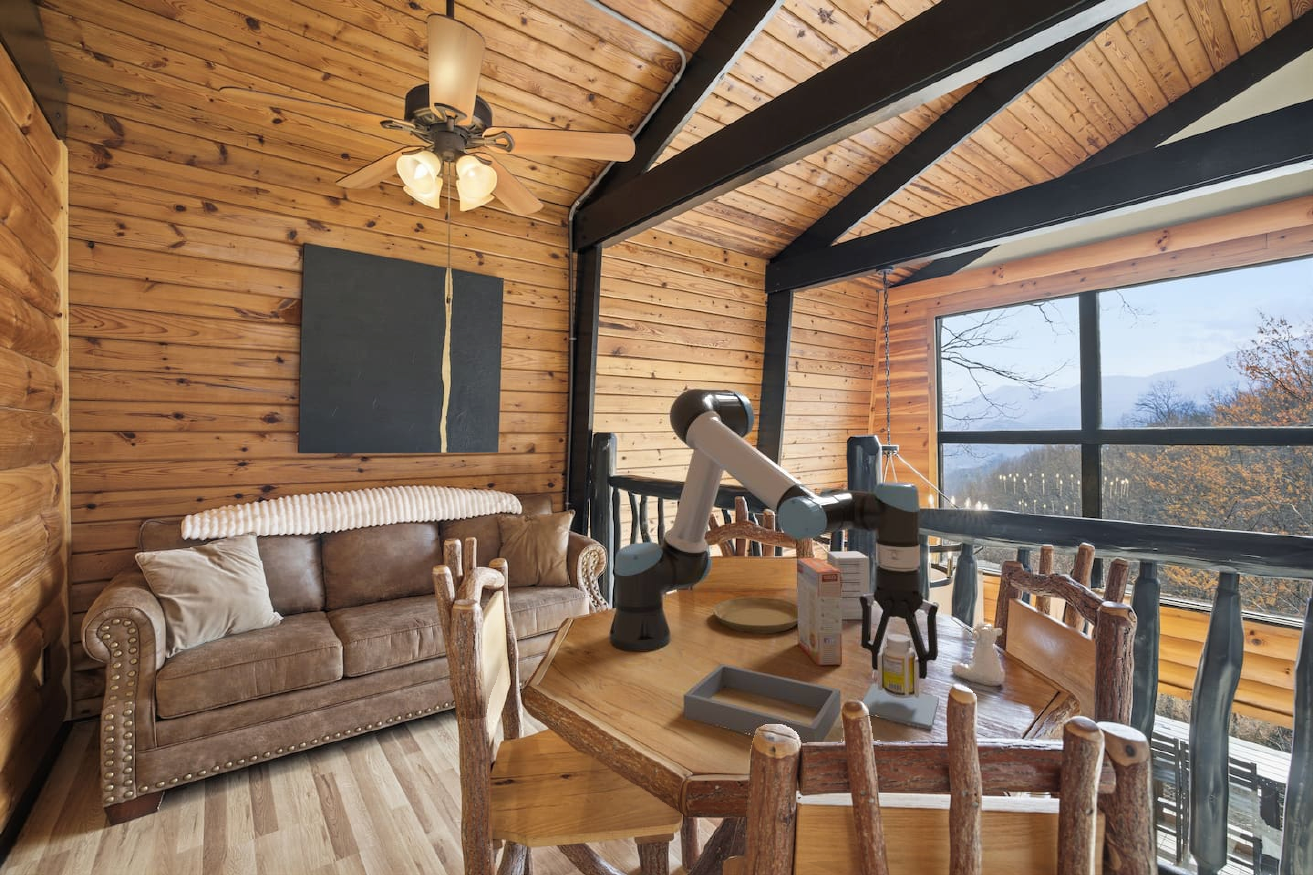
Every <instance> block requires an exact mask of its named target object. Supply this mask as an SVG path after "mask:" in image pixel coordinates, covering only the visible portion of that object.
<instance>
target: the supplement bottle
mask: <svg viewBox="0 0 1313 875" xmlns="http://www.w3.org/2000/svg"><path fill="white" fill-rule="evenodd" d="M882 651H883V687H884V690H885V692H886V693H888V694H889V695H891V696H894V697H898V698H910V697H913V696H914V660H915V658H916V650H914V649H913V648H912V647H911V639H910V637H908V636H907V635H903V634H894V633H893V634H892V633H891V634H888V635H887V637H886V644H885V645H884V646H883V647H882Z"/></svg>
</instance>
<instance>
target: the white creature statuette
mask: <svg viewBox="0 0 1313 875" xmlns="http://www.w3.org/2000/svg"><path fill="white" fill-rule="evenodd" d="M1002 634H1003V629H1002V628H1000V627H996V628H995V627H994V626H993V625H992V624H991V623H988V622H978V623H977V624H976V626H975V628H973V629H972V633H971V636H970V638H971V639H972V640H973V641H974V643H975V644H974V647H973V649H972V652H971V655H972V658H971V662H970V665H969V664H967V663H962V662H959V663H954V664H952V666H951V673H952V674H954V676H957V677H958V678H963V679H965V680H967V681H971V682H973V683H977V684H979V685H981V686H982V685H983V686H987V687H997V686H1000V685H1001V684H1003V683H1004V681H1005V677H1006V676H1005V675H1006V674H1005V673H1006V672H1005V670H1004V668H1003V666H1002V665H1003V664H1002V663H1001V661H1000V655H999V651H998V650H997V648H996V647H995V646H994V644H995V643H996V641H997V638H998V637H999V636H1001V635H1002Z"/></svg>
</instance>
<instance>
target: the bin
mask: <svg viewBox="0 0 1313 875" xmlns="http://www.w3.org/2000/svg"><path fill="white" fill-rule="evenodd" d="M724 687H727V688H730V689H735V690H739V691H743V692H746V693H750V694H755V695H760V696H763V697H766V698H767V697H768V698H771V699H776V700H781V701H785V702H789V703H793V704H796V705H800V706H806V707H810V708H814V709H817V710H819V711H818V713H817V715H816V716H815V717H814V719H813V720H812V722H811V724H809V723H805V722H801V721H798V720H795V719H794V720H793V719H789V718H786V717H782V716H778V715H774V714H770V713H765V712H763V711H759V710H755V709H751V708H747V707H744V706H743V707H742V706H739V705H735V704H731V703H727V702H723V701H720V700H715V699H712V698H713V697H715V695H716V694H717V693H718V692H719V691H721V689H723V688H724ZM841 701H842V700H841V689H838V688H835V687H834V688H833V687H828V686H825V685H819V684H817V683H816V684H815V683H810V682H806V681H801V680H797V679H792V678H789V677H783V676H779V675H775V674H770V673H765V672H760V671H756V670H751V669H747V668H742V667H738V666H733V665H728V664H724V663H720V665H718V666H717V667H716V668H714V669H713V670H712V671H711V672H710V673H708V674H707V675H706V676H705V677H704V678H702V679H701V680H700V681H699V682H698V683H696V684H695V685H694V686H693V687H691V688H690V689H688V691H687V692H685V693H683V718H686V719H689V720H693V721H697V722H701V723H705V724H707V723H708V724H709V725H711V724H714V725H713V726H715V725H718V726H722V727H726V728H729V729H731V730H730V731H732V730H734V731H733V732H736V731H738V732H737V733H739V732H743V733H747V734H749V733H750V735H752V736H751V737H753V736H754V735H755V731H756V729H757V728H759V727H761V726H763V725H765V724H783V725H786V726H787V727H790V728H792V729H793V730H794V731H796V732H797V734H798V735H799V737H800V740H801V742H802V743H807V742H822V743H823V742H824V740H825V739H826V737H827V735H828V733H829V732H830V730H831V728H832V727H833V725H834V723H835V721H836V720H837V719H838V717H839V715H840V713H841V712H840V711H841V710H842V708H841ZM718 726H717V727H718ZM722 727H721V728H722ZM729 729H728V730H729ZM743 733H742V734H743ZM750 735H749V736H750Z"/></svg>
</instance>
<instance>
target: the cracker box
mask: <svg viewBox="0 0 1313 875" xmlns="http://www.w3.org/2000/svg"><path fill="white" fill-rule="evenodd" d="M796 561H797V564H796V566H797V605H798V623H797V644H798V645H799V646H800V647H801V648H802V650H804V651H805V652H806V654H807V655H808V656H809V657H810V659H811V660H812V661H813V662H814V663H815V664H816V665H817V666H838V665H839V666H842V665H843V646H842V645H843V635H842V634H843V625H842V624H843V619H842V572H841V571H840V570H838V569H837V568H835V567H833V566H831V565H830V564H828V563H827V561H824V560H823V559H822V558H820V557H806V558H805V557H804V558H803V557H802V558H801V557H800V558H797V560H796Z"/></svg>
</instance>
